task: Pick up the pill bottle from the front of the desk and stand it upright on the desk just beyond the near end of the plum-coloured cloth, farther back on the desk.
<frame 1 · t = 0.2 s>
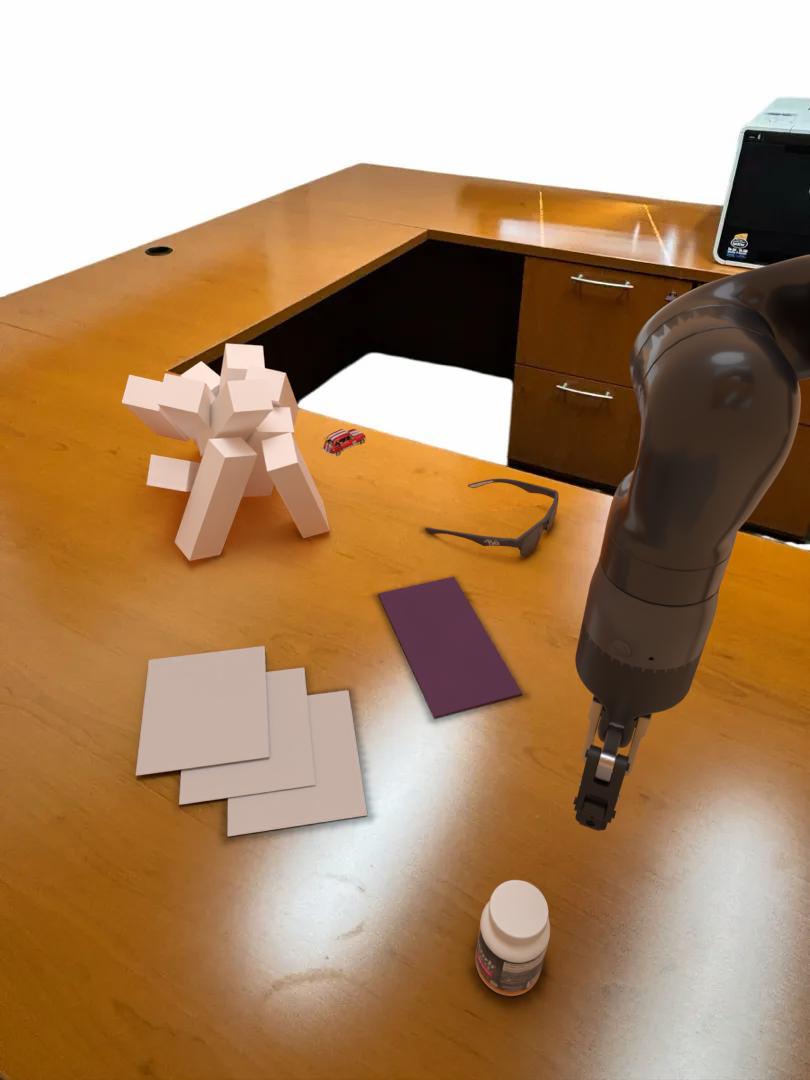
hand: (603, 775, 59), 20 cm above the table, tool pointing down, fingers open, 8 cm apart
cloth: (445, 641, 98), on the table
sunglasses: (494, 525, 117), on the table
paper stack: (248, 733, 87), on the table
pile of blocks: (237, 509, 120), on the table
pill bottle: (507, 964, 67), on the table
toy car: (344, 448, 135), on the table
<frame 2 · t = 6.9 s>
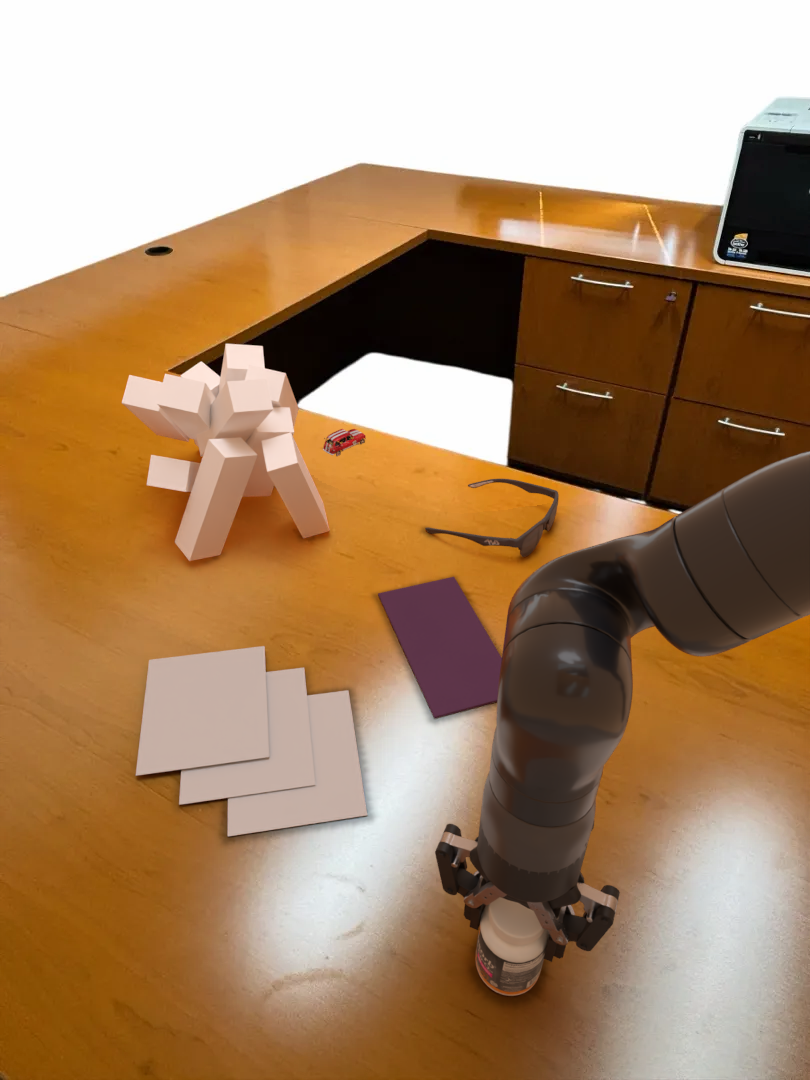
hand: (514, 933, 64), 6 cm above the table, tool pointing down, fingers closed on pill bottle, 5 cm apart
pill bottle: (507, 964, 67), on the table, touching gripper
everything else where it was.
when the fingers open (6 cm above the table, at t = 14.8 s): pill bottle stays where it is, on the table.
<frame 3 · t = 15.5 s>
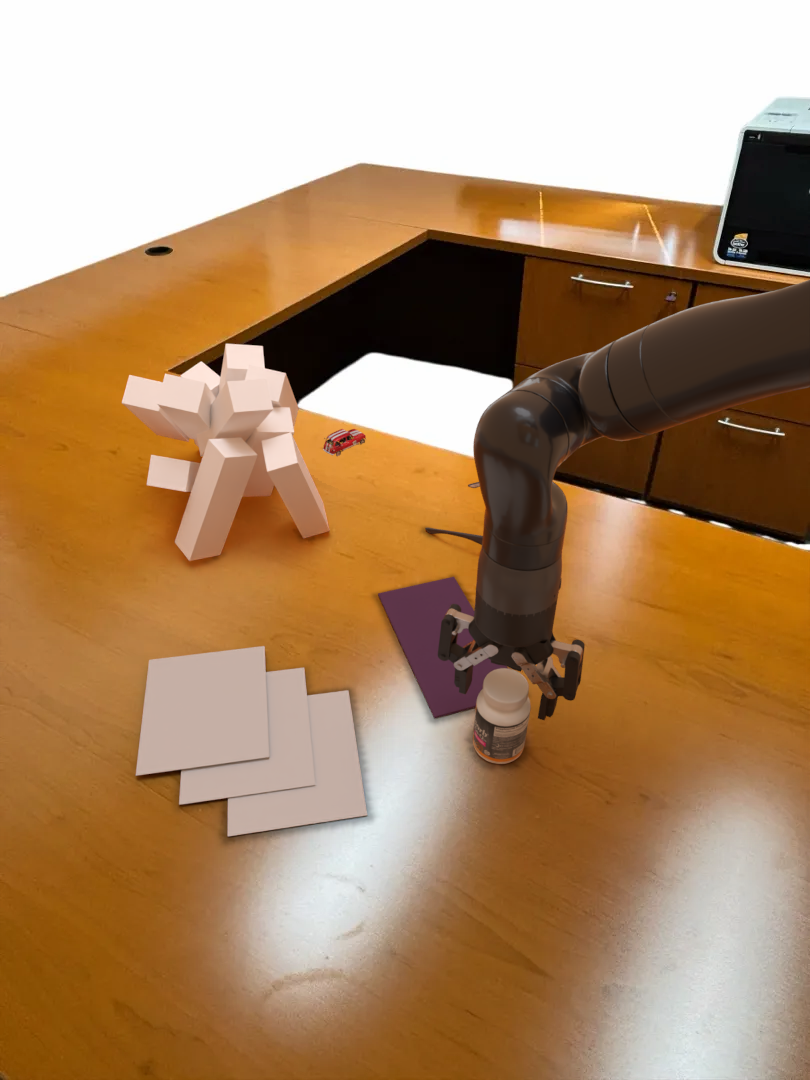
hand: (504, 700, 81), 7 cm above the table, tool pointing down, fingers open, 8 cm apart
pill bottle: (498, 745, 85), on the table
everything else where it was.
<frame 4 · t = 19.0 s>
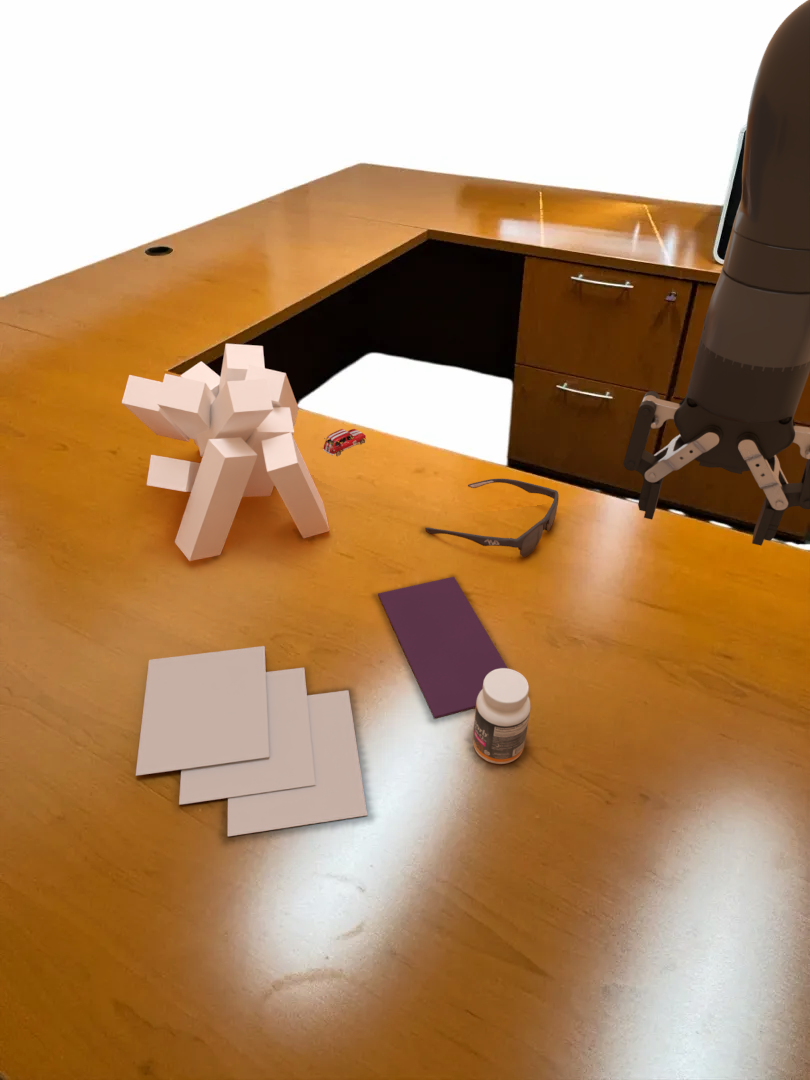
hand: (702, 526, 64), 32 cm above the table, tool pointing down, fingers open, 8 cm apart
nothing on the table moved.
at the end: pill bottle inside the target area on the table beside the cloth (0.1 cm from its centre), on the table; pill bottle 16.6 cm from the cloth (horizontally); pill bottle tilted 0° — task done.
